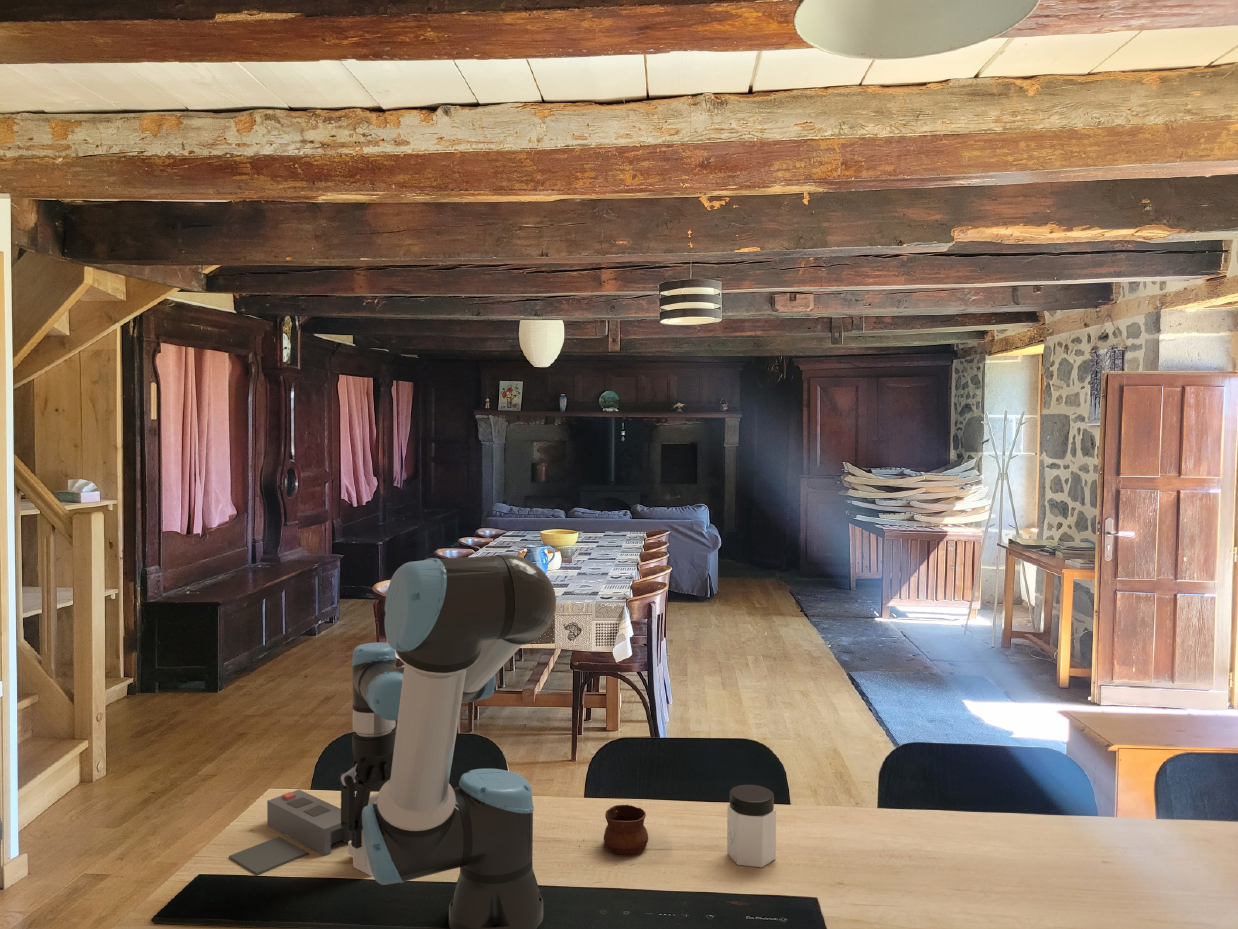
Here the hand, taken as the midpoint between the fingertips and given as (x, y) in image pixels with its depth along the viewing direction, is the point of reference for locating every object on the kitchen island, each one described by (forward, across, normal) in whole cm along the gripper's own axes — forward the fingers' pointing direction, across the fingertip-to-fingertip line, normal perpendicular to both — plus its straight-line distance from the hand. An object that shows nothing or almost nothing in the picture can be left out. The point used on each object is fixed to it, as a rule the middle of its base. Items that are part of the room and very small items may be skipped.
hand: (374, 857), depth 155 cm
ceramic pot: (+2, -34, +31) cm, 46 cm away
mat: (+2, +10, -18) cm, 21 cm away
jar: (+2, -46, +52) cm, 69 cm away
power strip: (+2, 0, -20) cm, 21 cm away
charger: (+2, 0, -2) cm, 2 cm away
